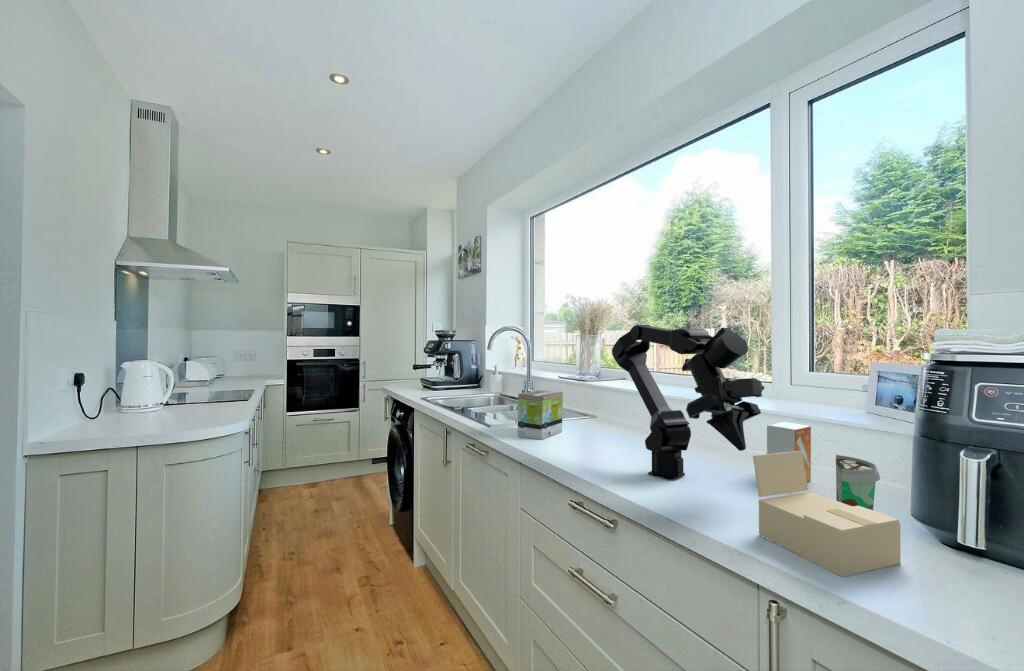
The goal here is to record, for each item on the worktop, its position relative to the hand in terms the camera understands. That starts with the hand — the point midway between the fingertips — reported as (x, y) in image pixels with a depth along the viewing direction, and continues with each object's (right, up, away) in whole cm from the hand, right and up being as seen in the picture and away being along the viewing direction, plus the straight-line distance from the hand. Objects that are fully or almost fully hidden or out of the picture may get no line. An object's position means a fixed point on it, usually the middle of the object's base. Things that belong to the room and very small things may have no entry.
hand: (742, 450), depth 87 cm
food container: (+20, -12, -4) cm, 23 cm away
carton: (+5, -12, -16) cm, 20 cm away
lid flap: (+2, -2, -9) cm, 9 cm away
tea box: (-35, -12, +68) cm, 77 cm away
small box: (+20, -12, +17) cm, 29 cm away
